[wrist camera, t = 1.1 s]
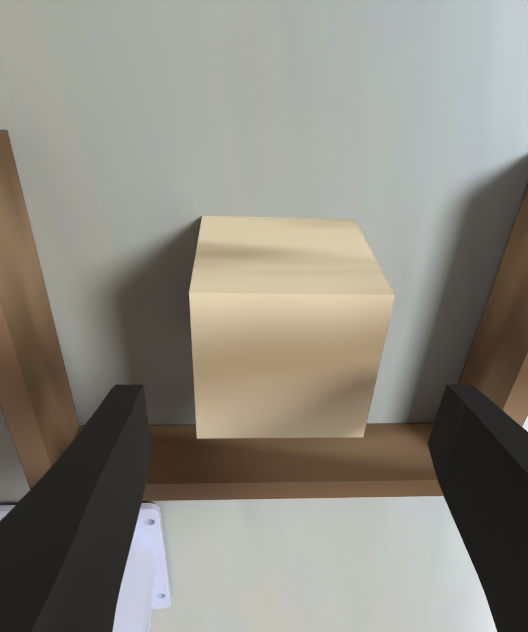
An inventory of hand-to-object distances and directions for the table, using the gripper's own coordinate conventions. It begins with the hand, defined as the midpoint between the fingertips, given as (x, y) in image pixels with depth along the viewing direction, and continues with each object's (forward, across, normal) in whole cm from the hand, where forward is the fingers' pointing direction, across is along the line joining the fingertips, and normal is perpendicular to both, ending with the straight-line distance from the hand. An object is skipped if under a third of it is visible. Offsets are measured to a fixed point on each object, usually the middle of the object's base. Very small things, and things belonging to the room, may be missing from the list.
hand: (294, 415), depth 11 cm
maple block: (+7, 0, 0) cm, 7 cm away
